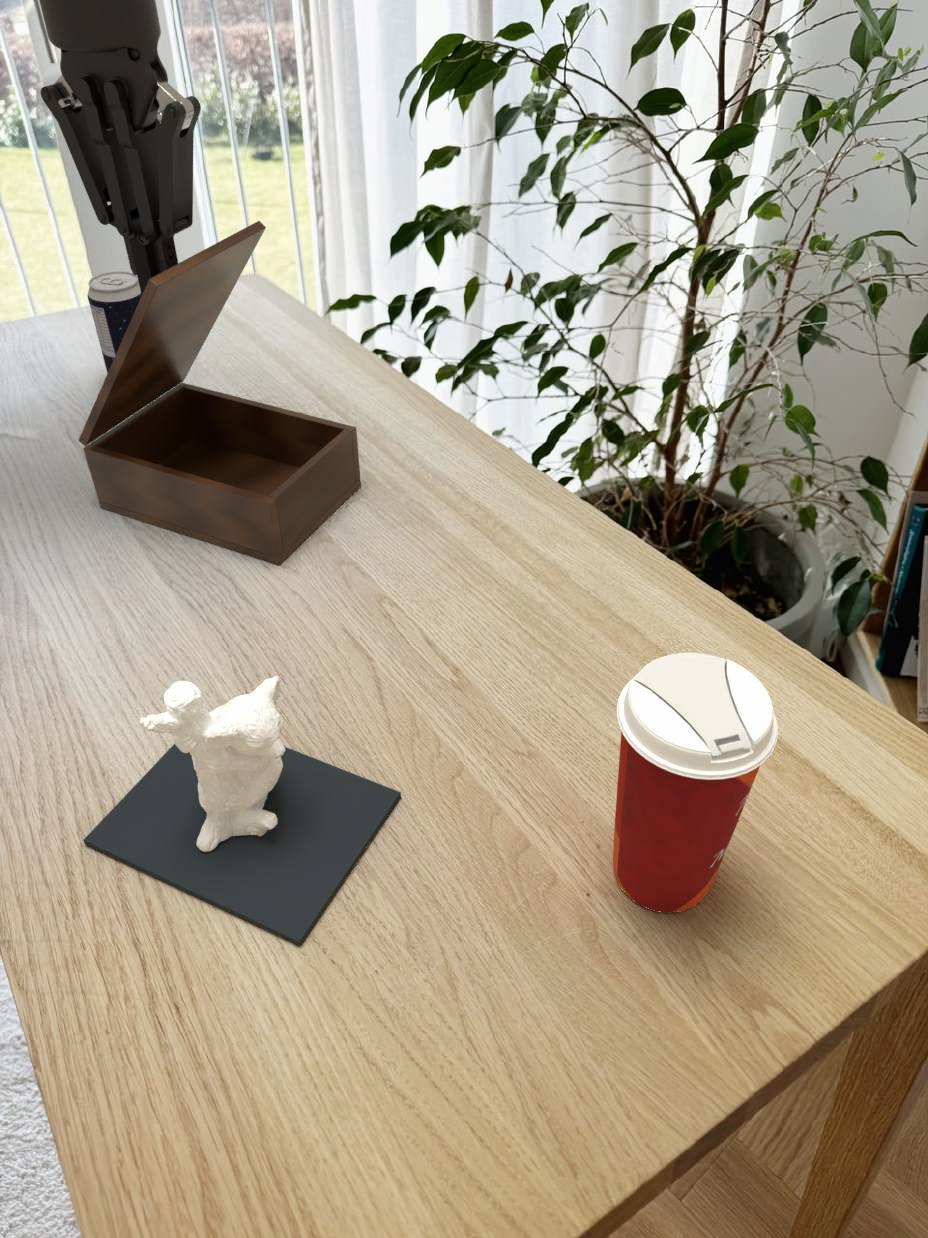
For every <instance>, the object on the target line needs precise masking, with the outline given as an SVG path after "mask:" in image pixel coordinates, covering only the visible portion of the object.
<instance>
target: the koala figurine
mask: <svg viewBox="0 0 928 1238" xmlns="http://www.w3.org/2000/svg"><path fill="white" fill-rule="evenodd" d="M280 684H281V679H280V676H279V675H274V676H273V677H269V678H266V679H264V680H263V681H262V682H261V683H260V684H259V685H258V686H257V687H256V688H255V689H254V690H253V691H252V692H250V693H244V694H240V695H237V696H235V697H234V698H232V699H230V700H228V701H227V702H226V703H224V704H222V705H220V706H217V707H216V708H214V709H213V710H209V708H208V706H207V704H206V703H205V700H204V697H203V693H202V691H201V690H200V688H199V687H198V686H197V684H194V682H192V681H188V680H177V681H175V682H173V683H172V684H171V685H170V687H168V689H166V690H165V692H164V694H163V701H164V705H165V708H166V709H165V712H161V713H157V714H146V716H144V717H143V716H141V717H140V718H139V725H140V726H142V727H143V728H145V730H146V731H147V732H153V733H157V734H166V733H167V734H172V737H173V744H175V745H176V746H177V747H178V748H179V750H181V751H182V752H183V753H188V752H189V753H190V755H192V760H193V766H194V770H195V771H196V773H197V777H198V781H199V782H198V793H199V802H200V804H201V806H202V807H203V809H204V810H205V811H206V813H207V817H206V820H205V822H204V824H203V826H202V828H201V831H200V834H199V836H198V838H197V843H196V845H197V847H198V848H199V849H200V850H201V851H203V852H208V851H211V850H213V849H215V847H216V846H217V845H218V844H219V843H220V842H222V841H225V840H226V839H228V838H229V837H231V836H241V835H258V836H262V835H264V834H265V833H266V831H267V830H271V829H273V828H274V827H275V826H276V825H277V822H278V821H277V817H276V815H275V814H274V813H272V812H269V811H266V810H262V809H263V806H264V803H265V800H266V799H267V794H268V792H269V791H271V790H272V789H273V788H274V786H275V784H276V783H277V781H278V779H279V776H280V774H281V771H282V768H283V763H282V760H281V756H282V755H283V754H284V752H285V747H286V746H284V744H283V739H282V731H283V727H284V719H283V718H282V716H281V715H280V713H279V712H278V709H277V708H276V705H277V701H278V699H279V698H280V697H281V695H280V692H281V690H280V689H281V685H280Z"/></svg>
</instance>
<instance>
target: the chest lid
mask: <svg viewBox="0 0 928 1238" xmlns="http://www.w3.org/2000/svg"><path fill="white" fill-rule="evenodd" d="M266 228H267V227H266V225H264V223H263V222H261V220H258V221H256V222H254V223H252V224H250V225H248V226H246V227H244V228H242V229H240V230H239V231H237V232H235V233H233V234H231V235H229V236H227V237H226V238H223V239H222V240H220V241H217V242H215V243H214V244H213V245H210V246H209V247H207V248H205V249H203V250H201V251H199V252H197V253H195V254H194V255H192V256H190V257H187V258H185V259H183V260H182V261H180V262H178V264H176V265H175V266H173V267H171V268H169V269H167V270H165V271H163V272H161V273H160V274H158V275H156V276H154V277H152V278H150V279H149V281H148V283H147V285H146V288H145V290H144V292H143V294H142V297H141V299H140V301H139V304H138V306H137V308H136V310H135V313H134V315H133V317H132V319H131V322H130V324H129V326H128V329H127V331H126V333H125V335H124V338H123V340H122V342H121V344H120V347H119V349H118V351H117V354H116V356H115V358H114V360H113V363H112V365H111V367H110V369H109V372H108V373H107V374H106V376H105V379H104V381H103V383H102V385H101V387H100V390H99V392H98V395H97V396H96V399H95V401H94V404H93V406H92V408H91V410H90V412H89V415H88V417H87V420H86V422H85V424H84V426H83V428H82V431H81V433H80V435H79V438H78V441H79V443H81V444H82V445H83V446H84V447H86V446H87V445H89V444H90V443H92V442H93V441H95V440H96V439H98V438H99V437H101V436H102V435H104V434H105V433H107V432H108V431H110V430H111V429H113V428H114V427H116V426H117V425H119V424H120V423H122V422H123V421H125V420H126V419H128V418H129V417H131V416H132V415H134V414H135V413H137V412H138V411H140V410H141V409H143V408H144V407H146V406H147V405H149V404H150V403H152V402H153V401H155V400H156V399H158V398H159V397H161V396H162V395H164V394H165V393H167V392H168V391H170V390H171V389H173V388H174V387H176V386H177V385H179V384H180V383H184V382H185V379H186V378H187V375H188V374H189V372H190V370H191V368H192V367H193V365H194V363H195V361H196V360H197V357H198V355H199V354H200V351H201V350H202V348H203V346H204V345H205V342H206V340H207V339H208V337H209V334H210V333H211V331H212V329H213V327H214V326H215V324H216V323H217V320H218V318H219V316H220V314H221V313H222V310H223V308H224V307H225V305H226V303H227V301H228V299H229V298H230V295H231V294H232V292H233V290H234V289H235V286H236V284H237V282H238V281H239V280H240V279H239V278H240V277H241V275H242V274H243V272H244V269H245V267H246V266H247V264H248V262H249V260H250V259H251V256H252V254H253V253H254V252H255V249H256V247H257V246H258V243H259V241H260V239H261V238H262V236H263V234H264V232H265V230H266Z"/></svg>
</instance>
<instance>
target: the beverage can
mask: <svg viewBox="0 0 928 1238" xmlns="http://www.w3.org/2000/svg"><path fill="white" fill-rule="evenodd" d="M141 297H142V295H141V290H140V286H139V282H138V277H137V275H134V274H133V272H132V271H124V270H115V271H114V270H113V271H106V272H102V273H99V274H96V275H95V276H93V277H91V278H90V279H89V280H88V291H87V300H88V305H89V308H90V311H91V315H92V320H93V323H94V327H95V331H96V335H97V339H98V342H99V346H100V350H101V354H102V358H103V362H104V366H105V369H106V373H107V374H108V372H109V369H110V367H111V365H112V363H113V360H114V358H115V356H116V354H117V351H118V349H119V347H120V344H121V342H122V340H123V338H124V335H125V333H126V331H127V329H128V326H129V324H130V322H131V319H132V317H133V315H134V313H135V310H136V308H137V306H138V304H139V301H140V299H141Z"/></svg>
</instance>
